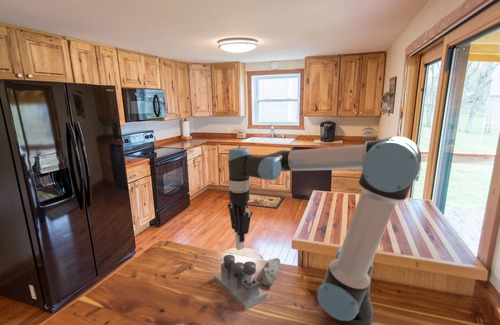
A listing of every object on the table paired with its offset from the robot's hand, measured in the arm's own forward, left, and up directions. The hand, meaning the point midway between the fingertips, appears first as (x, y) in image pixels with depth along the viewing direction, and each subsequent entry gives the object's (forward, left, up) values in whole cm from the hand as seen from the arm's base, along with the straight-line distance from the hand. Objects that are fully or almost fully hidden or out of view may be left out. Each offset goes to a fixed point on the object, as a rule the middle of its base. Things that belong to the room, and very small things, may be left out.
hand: (240, 248), depth 101 cm
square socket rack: (+1, 0, -18) cm, 18 cm away
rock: (-1, -14, -19) cm, 23 cm away
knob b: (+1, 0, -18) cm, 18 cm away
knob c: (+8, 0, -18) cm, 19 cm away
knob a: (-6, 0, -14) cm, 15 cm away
